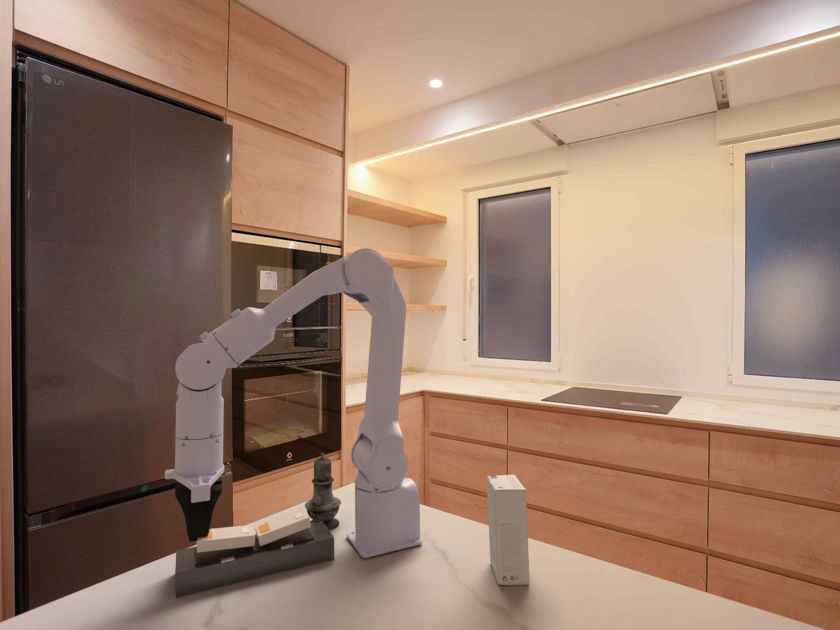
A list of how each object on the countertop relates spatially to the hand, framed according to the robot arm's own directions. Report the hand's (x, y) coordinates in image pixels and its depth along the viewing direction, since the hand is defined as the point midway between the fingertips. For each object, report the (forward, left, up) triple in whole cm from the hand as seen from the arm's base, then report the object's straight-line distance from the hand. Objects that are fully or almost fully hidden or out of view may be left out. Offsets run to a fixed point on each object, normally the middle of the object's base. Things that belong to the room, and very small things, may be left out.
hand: (198, 538), depth 62 cm
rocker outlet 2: (-11, 0, -1) cm, 11 cm away
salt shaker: (-19, -8, -6) cm, 21 cm away
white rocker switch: (-3, 0, -1) cm, 3 cm away
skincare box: (-37, +18, -6) cm, 41 cm away
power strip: (-7, 0, -5) cm, 9 cm away
